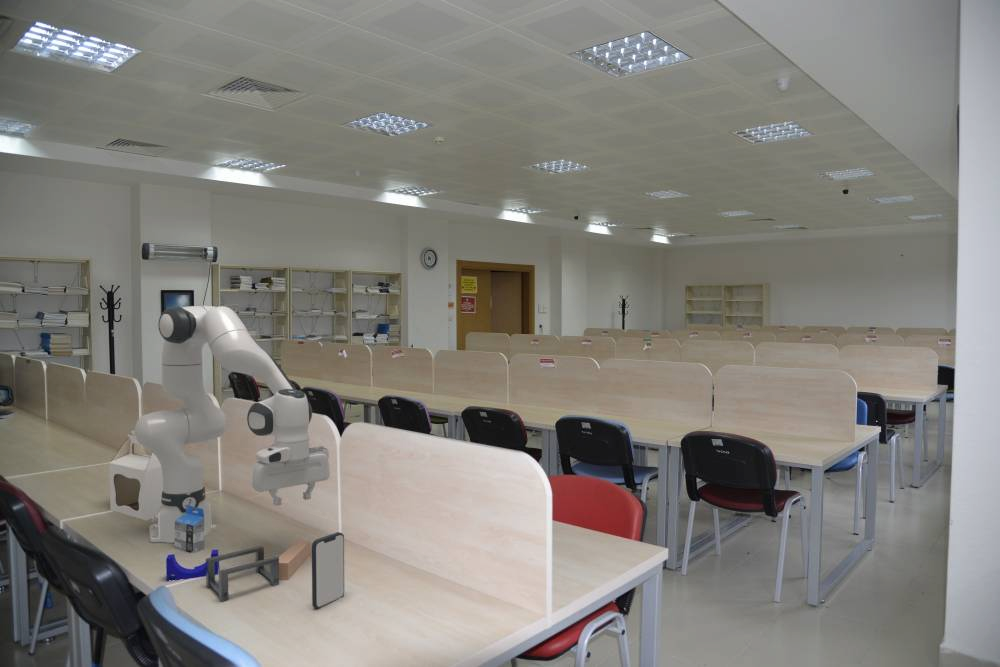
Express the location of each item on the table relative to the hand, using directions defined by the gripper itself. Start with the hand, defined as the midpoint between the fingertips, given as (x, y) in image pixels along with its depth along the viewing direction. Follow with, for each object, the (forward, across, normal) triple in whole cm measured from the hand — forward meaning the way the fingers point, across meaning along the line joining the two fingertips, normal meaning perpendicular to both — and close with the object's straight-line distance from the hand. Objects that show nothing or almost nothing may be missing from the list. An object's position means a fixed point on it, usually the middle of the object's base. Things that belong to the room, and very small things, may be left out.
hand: (292, 502), depth 172 cm
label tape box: (+19, +17, -33) cm, 41 cm away
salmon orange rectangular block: (+18, 0, 0) cm, 18 cm away
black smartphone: (+18, +2, +25) cm, 31 cm away
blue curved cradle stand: (+19, +21, -13) cm, 31 cm away
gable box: (+19, +18, -80) cm, 84 cm away
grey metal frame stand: (+18, +14, +2) cm, 23 cm away
